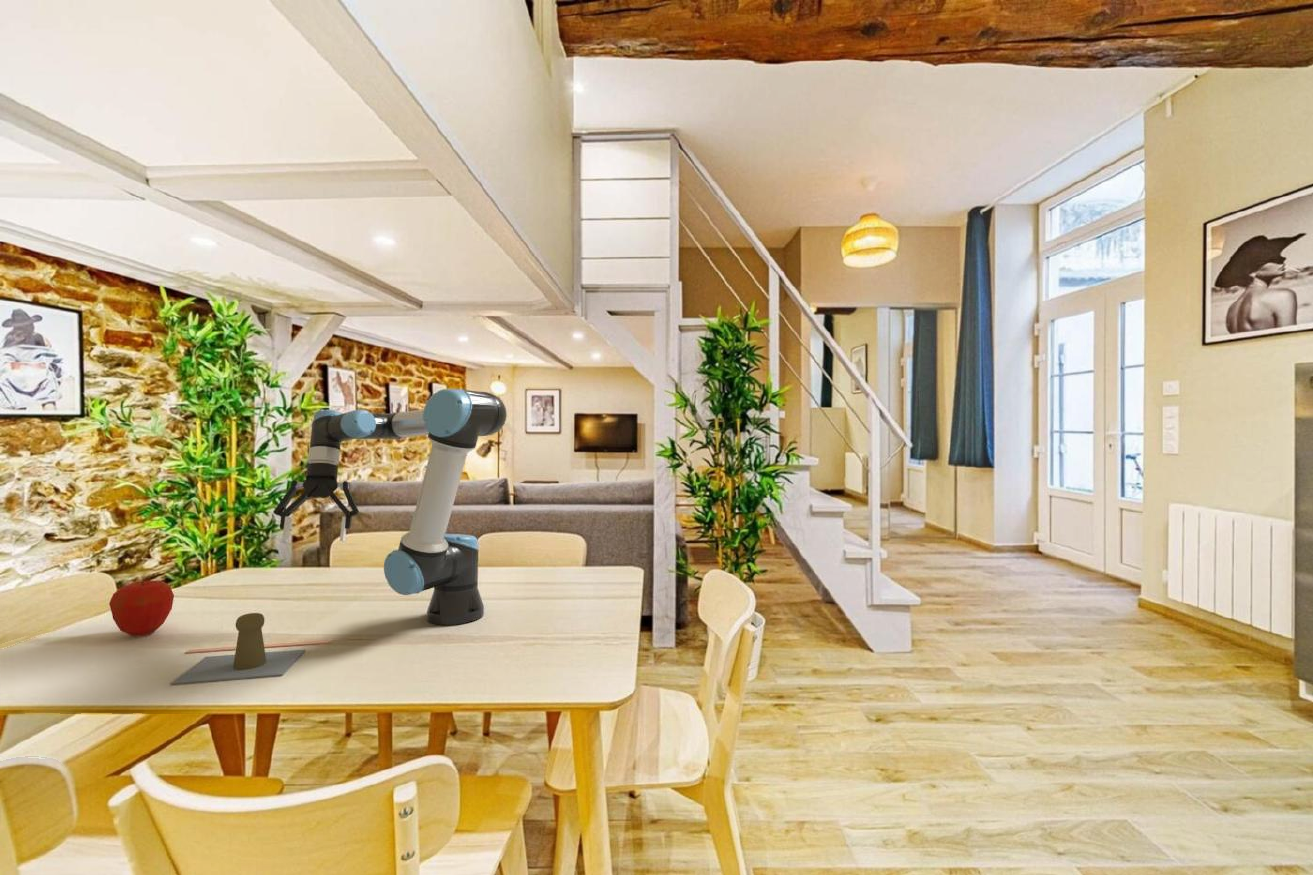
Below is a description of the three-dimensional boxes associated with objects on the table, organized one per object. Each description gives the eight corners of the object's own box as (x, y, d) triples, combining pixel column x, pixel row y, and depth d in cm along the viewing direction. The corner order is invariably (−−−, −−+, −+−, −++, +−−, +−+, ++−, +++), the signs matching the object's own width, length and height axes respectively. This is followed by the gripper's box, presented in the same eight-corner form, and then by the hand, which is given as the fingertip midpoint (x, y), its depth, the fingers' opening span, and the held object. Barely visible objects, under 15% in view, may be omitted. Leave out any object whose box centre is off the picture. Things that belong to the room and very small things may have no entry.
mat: (304, 651, 135) (305, 649, 135) (282, 675, 121) (282, 674, 121) (205, 658, 130) (205, 656, 130) (170, 685, 116) (170, 683, 116)
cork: (243, 659, 128) (244, 610, 128) (272, 658, 129) (272, 609, 129) (226, 670, 122) (226, 619, 122) (256, 669, 123) (256, 618, 123)
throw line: (331, 641, 141) (331, 639, 141) (329, 643, 140) (329, 642, 140) (188, 651, 134) (188, 649, 134) (184, 653, 132) (184, 652, 132)
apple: (107, 633, 144) (107, 578, 144) (169, 622, 153) (169, 570, 153) (111, 646, 136) (112, 587, 136) (177, 634, 144) (177, 578, 144)
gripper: (374, 468, 167) (367, 542, 161) (275, 466, 160) (265, 543, 154) (370, 462, 160) (363, 539, 154) (267, 460, 153) (255, 540, 147)
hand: (314, 541), depth 154 cm, fingers open, 13 cm apart
